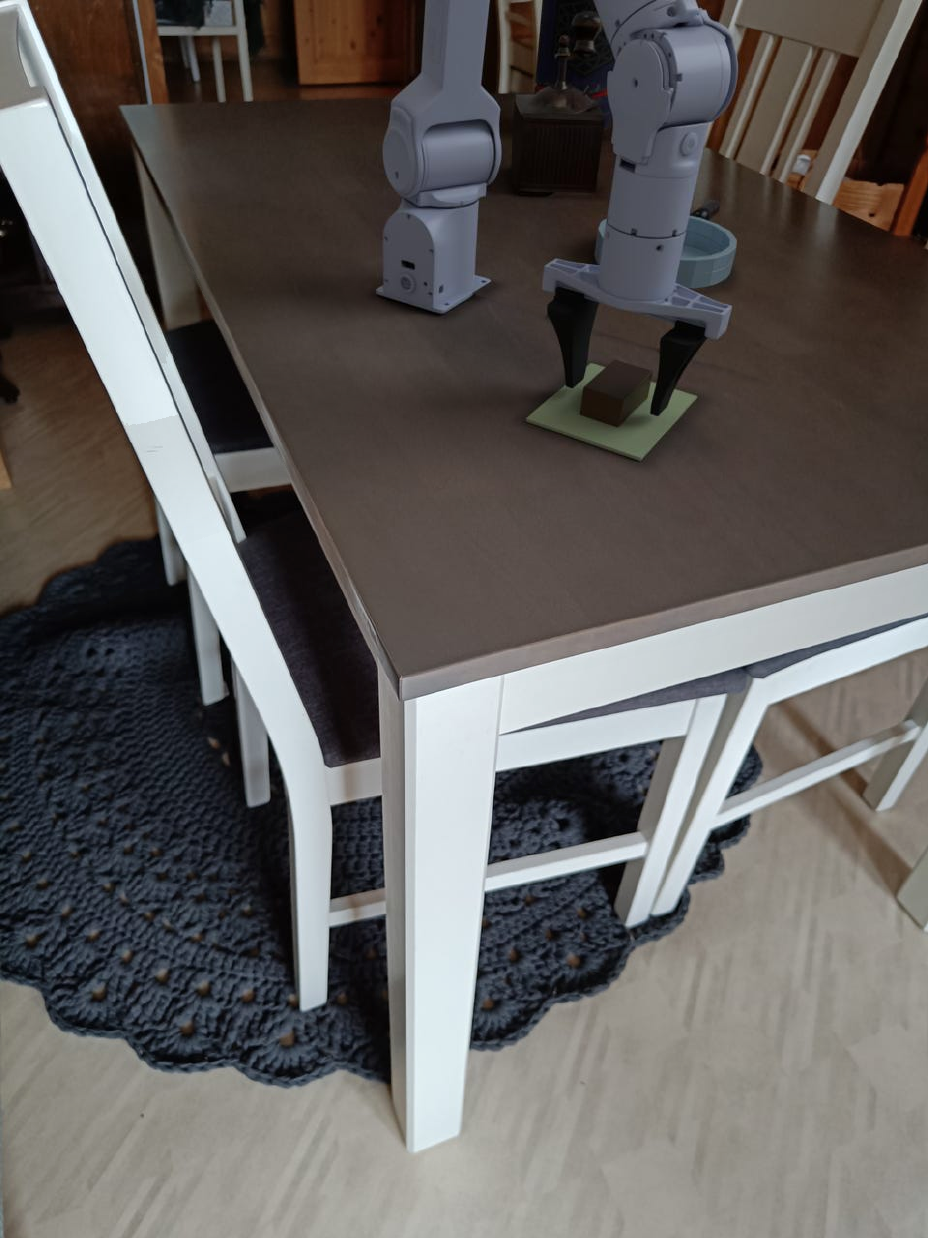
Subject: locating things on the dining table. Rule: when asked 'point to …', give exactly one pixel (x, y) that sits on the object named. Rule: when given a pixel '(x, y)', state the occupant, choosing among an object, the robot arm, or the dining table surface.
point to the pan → (697, 253)
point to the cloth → (625, 440)
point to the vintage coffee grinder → (559, 127)
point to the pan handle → (707, 210)
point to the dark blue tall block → (557, 21)
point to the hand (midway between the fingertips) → (615, 396)
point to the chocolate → (615, 393)
